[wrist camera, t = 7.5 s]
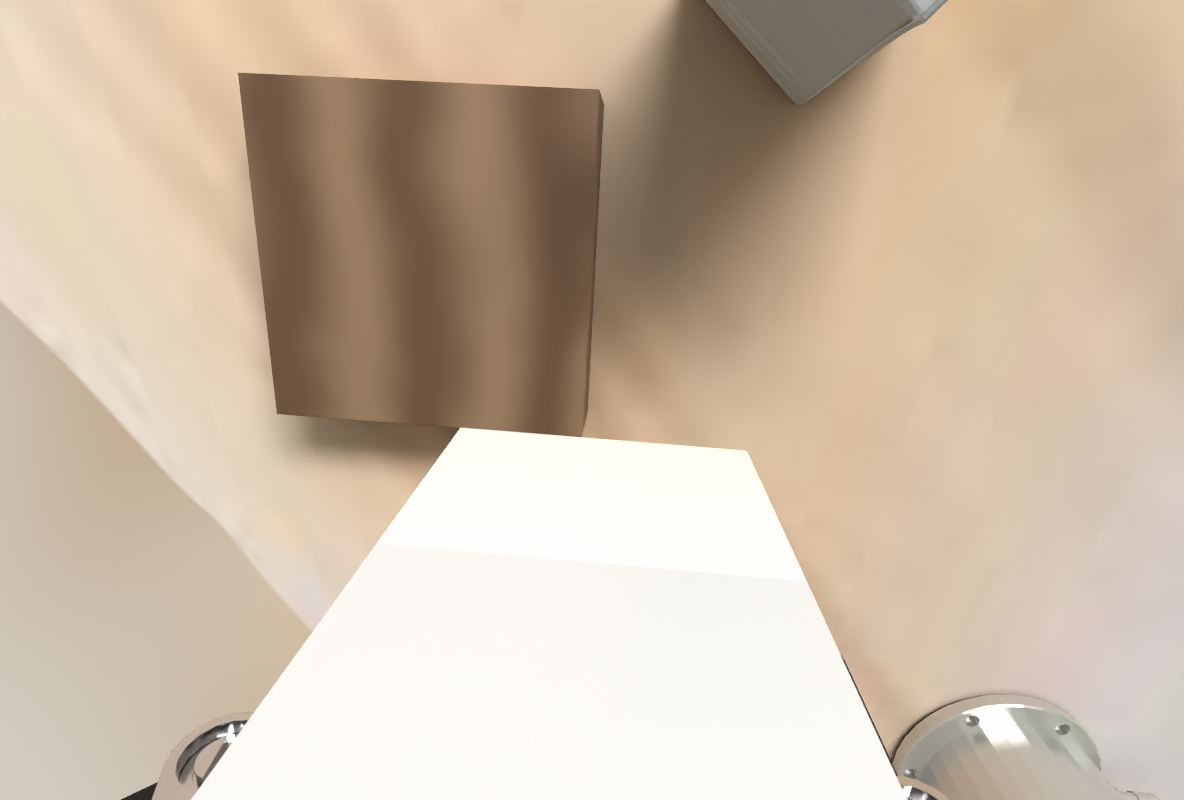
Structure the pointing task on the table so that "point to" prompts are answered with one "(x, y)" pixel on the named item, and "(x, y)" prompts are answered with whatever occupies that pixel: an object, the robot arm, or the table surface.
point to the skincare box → (818, 35)
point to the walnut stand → (426, 248)
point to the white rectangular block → (568, 645)
